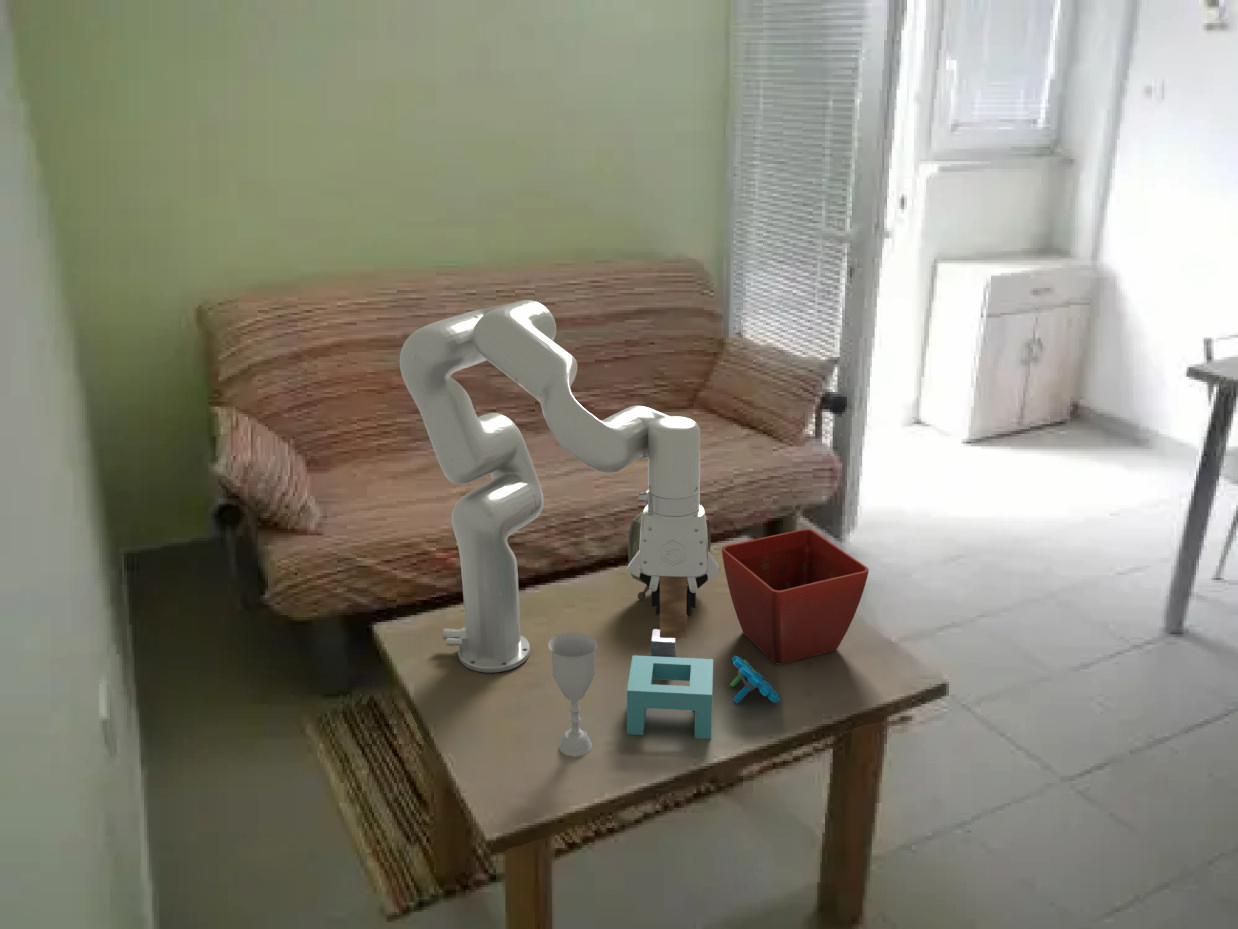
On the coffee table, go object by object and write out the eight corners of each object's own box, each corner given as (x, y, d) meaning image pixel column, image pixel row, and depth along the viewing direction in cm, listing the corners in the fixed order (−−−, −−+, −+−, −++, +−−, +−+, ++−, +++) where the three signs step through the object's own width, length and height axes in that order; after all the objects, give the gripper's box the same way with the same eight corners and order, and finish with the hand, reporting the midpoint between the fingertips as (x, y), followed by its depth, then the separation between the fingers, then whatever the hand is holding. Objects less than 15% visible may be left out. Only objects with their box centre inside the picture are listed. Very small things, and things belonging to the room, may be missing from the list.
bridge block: (627, 734, 161) (627, 690, 158) (632, 697, 170) (632, 655, 167) (710, 738, 160) (712, 694, 157) (711, 701, 169) (713, 659, 166)
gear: (790, 706, 165) (747, 669, 162) (765, 733, 165) (721, 696, 162) (770, 676, 175) (729, 641, 173) (746, 701, 176) (705, 667, 173)
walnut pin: (659, 637, 157) (659, 567, 153) (661, 624, 161) (661, 555, 157) (686, 638, 157) (686, 567, 153) (687, 625, 161) (687, 555, 156)
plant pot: (716, 627, 191) (719, 545, 185) (804, 606, 198) (810, 526, 192) (770, 680, 175) (775, 592, 168) (864, 656, 181) (872, 570, 175)
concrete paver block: (651, 671, 177) (651, 641, 175) (652, 659, 181) (652, 629, 179) (674, 672, 177) (674, 642, 175) (675, 660, 181) (676, 630, 178)
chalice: (547, 757, 156) (543, 654, 149) (557, 730, 162) (554, 630, 155) (594, 762, 154) (592, 659, 148) (603, 735, 161) (601, 634, 154)
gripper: (614, 509, 148) (616, 621, 155) (731, 512, 147) (728, 625, 153) (619, 489, 155) (621, 597, 162) (731, 492, 154) (728, 601, 160)
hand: (673, 610), depth 158 cm, fingers closed on walnut pin, 4 cm apart
